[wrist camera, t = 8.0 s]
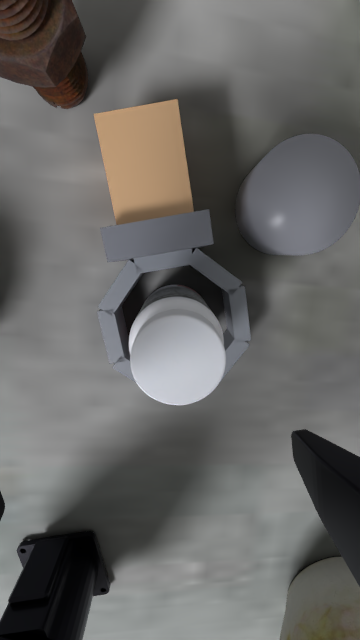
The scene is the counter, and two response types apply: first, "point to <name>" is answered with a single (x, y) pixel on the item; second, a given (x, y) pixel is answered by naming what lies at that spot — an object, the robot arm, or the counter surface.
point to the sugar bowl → (323, 603)
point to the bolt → (44, 49)
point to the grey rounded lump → (299, 197)
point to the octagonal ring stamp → (156, 222)
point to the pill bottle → (176, 347)
